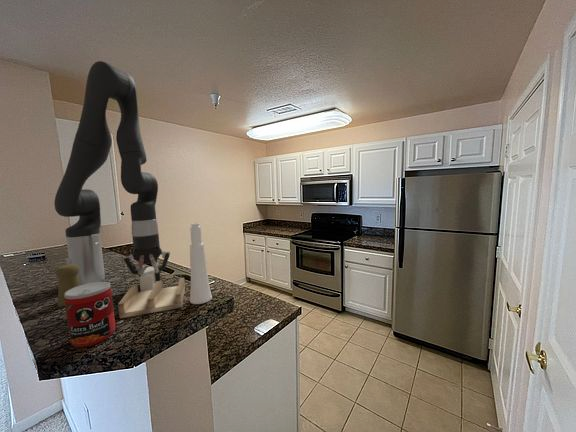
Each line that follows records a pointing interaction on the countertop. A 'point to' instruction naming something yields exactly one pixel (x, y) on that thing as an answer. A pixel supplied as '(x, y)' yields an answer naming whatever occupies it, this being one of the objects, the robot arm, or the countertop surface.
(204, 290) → the cosmetic bottle
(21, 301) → the countertop surface
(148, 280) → the white angular block
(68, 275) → the cork
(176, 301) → the rack
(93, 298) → the canned food
